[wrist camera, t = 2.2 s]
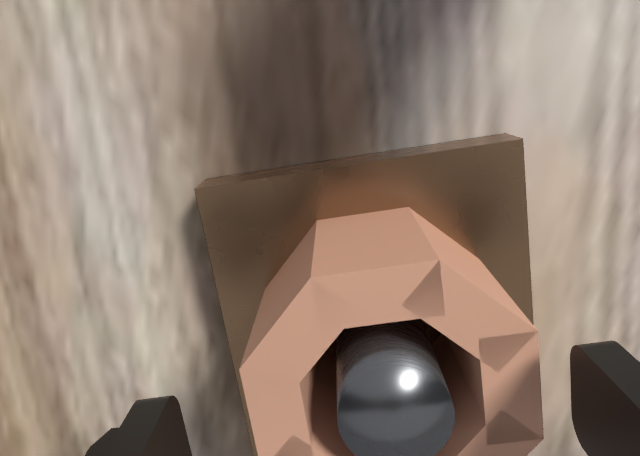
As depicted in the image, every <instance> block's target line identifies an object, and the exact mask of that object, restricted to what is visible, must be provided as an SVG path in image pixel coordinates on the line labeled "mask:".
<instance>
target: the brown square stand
mask: <svg viewBox="0 0 640 456" xmlns="http://www.w3.org/2000/svg"><path fill="white" fill-rule="evenodd" d="M195 194H196V198H197V203H198V207H199V212H200V216H201V221H202V225H203V230H204V234H205V239H206V243H207V248H208V252H209V257H210V261H211V266H212V270H213V275H214V279H215V284H216V288H217V293H218V297H219V302H220V306H221V311H222V315H223V320H224V324H225V329H226V333H227V338H228V342H229V347H230V351H231V356H232V360H233V365H234V369H235V374H236V378H237V383H238V387H239V392H240V396H241V401H242V405H243V410H244V414H245V419H246V423H247V428H248V432H249V437H250V441H251V446H252V450H253V455H254V456H258V453H257V449H256V444H255V440H254V435H253V430H252V426H251V421H250V417H249V412H248V408H247V403H246V399H245V394H244V389H243V385H242V380H241V376H240V371H239V369H240V365H241V362H242V359H243V356H244V353H245V350H246V347H247V344H248V340H249V337H250V334H251V331H252V328H253V325H254V322H255V319H256V316H257V312H258V309H259V306H260V303H261V300H262V297H263V294H264V291H265V288H266V287H267V286H268V284H269V283H270V282H271V280H272V279H273V278H274V276H275V275H276V274H277V272H278V271H279V270H280V268H281V267H282V266H283V264H284V263H285V262H286V260H287V259H288V258H289V257H290V255H291V254H292V253H293V251H294V250H295V249H296V247H297V246H298V245H299V243H300V242H301V241H302V239H303V238H304V237H305V235H306V234H307V233H308V231H309V230H310V229H311V227H312V226H313V225H314V223H315V222H316V221H317V220H322V219H329V218H336V217H343V216H349V215H356V214H363V213H370V212H377V211H384V210H391V209H397V208H404V207H409V208H411V209H412V210H413V211H415V212H416V213H417V214H419V215H420V216H421V217H423V218H424V219H426V220H427V221H428V222H430V223H431V224H432V225H434V226H435V227H436V228H438V229H439V230H440V231H442V232H443V233H445V234H446V235H447V236H449V237H450V238H451V239H453V240H454V241H455V242H457V243H458V244H459V245H461V246H462V247H464V248H465V249H466V250H468V251H469V252H470V253H472V254H473V255H474V256H476V257H477V258H478V259H480V261H481V262H482V263H483V264H484V265H485V267H486V268H487V269H488V270H489V272H490V273H491V274H492V275H493V276H494V278H495V279H496V280H497V281H498V283H499V284H500V285H501V286H502V288H503V289H504V290H505V291H506V292H507V294H508V295H509V296H510V297H511V299H512V300H513V301H514V302H515V304H516V305H517V306H518V307H519V308H520V310H521V311H522V312H523V313H524V315H525V316H526V317H527V318H528V320H529V321H530V322H531V323H532V324H533V308H532V290H531V272H530V255H529V237H528V219H527V201H526V183H525V165H524V148H523V139H522V138H519V137H516V136H513V135H510V134H506V133H504V134H497V135H491V136H484V137H478V138H471V139H464V140H458V141H451V142H445V143H438V144H432V145H425V146H419V147H412V148H406V149H399V150H392V151H386V152H379V153H373V154H366V155H360V156H353V157H347V158H340V159H334V160H327V161H320V162H314V163H307V164H301V165H294V166H288V167H281V168H275V169H268V170H262V171H255V172H248V173H242V174H235V175H229V176H222V177H216V178H209V179H206V180H205V181H203V182H202V183H201V184H200V185H198V186H197V187H196V188H195ZM440 335H441V332H439V331H438V330H436V329H435V328H434V327H432V326H431V325H429V324H428V323H426V322H425V321H424V320H422V319H414V320H406V321H398V322H391V323H383V324H376V325H368V326H361V327H353V328H346V329H343V330H342V332H341V333H340V334H339V335H338V337H337V338H336V339H335V340H334V341H333V343H332V344H331V345H330V346H329V348H328V349H327V350H326V351H325V353H326V354H328V355H329V356H331V357H332V358H334V359H335V360H336V376H337V424H338V429H339V433H340V435H341V438H342V440H343V441H344V443H345V445H346V446H347V447H348V448H349V450H350V451H351V452H353V453H354V454H355V455H356V456H434V455H436V454H437V453H438V452H439V451H440V450H441V449H442V448H443V447H444V446H445V444H446V443H447V441H448V440H449V438H450V436H451V434H452V431H453V428H454V423H455V409H454V404H453V401H452V398H451V396H450V393H449V390H448V388H447V385H446V382H445V380H444V377H443V374H442V372H441V369H440V366H439V364H438V361H437V358H436V355H435V353H434V350H433V347H432V344H433V343H434V341H435V340H436V339H437V338H438V337H439V336H440Z"/></svg>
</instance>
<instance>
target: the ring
mask: <svg viewBox="0 0 640 456" xmlns="http://www.w3.org/2000/svg"><path fill="white" fill-rule="evenodd" d="M414 319H422V320H424V321H425V322H426V323H428V324H429V325H431V326H432V327H434V328H435V329H436V330H438V331H439V332H441V335H440V336H439V337H438V338H437V339H436V340H435V341H434V343H433V344H432V347H433V350H434V353H435V355H436V358H437V361H438V364H439V366H440V369H441V372H442V374H443V377H444V380H445V382H446V385H447V388H448V390H449V393H450V396H451V398H452V401H453V404H454V409H455V423H454V428H453V431H452V434H451V436H450V438H449V440H448V441H447V443H446V444H445V446H444V447H443V448H442V449H441V450H440V451H439V452H438V453H437V454H436V455H434V456H527V455H528V454H529V453H530V452H531V451H532V450H533V449H534V448H535V447H536V446H537V445H538V444H539V443H540V442H541V441H542V440H543V439H544V437H543V418H542V399H541V381H540V362H539V344H538V331H537V329H536V328H535V327H534V326H533V324H532V323H531V322H530V321H529V320H528V318H527V317H526V316H525V315H524V313H523V312H522V311H521V310H520V308H519V307H518V306H517V305H516V304H515V302H514V301H513V300H512V299H511V297H510V296H509V295H508V294H507V292H506V291H505V290H504V289H503V288H502V286H501V285H500V284H499V283H498V281H497V280H496V279H495V278H494V276H493V275H492V274H491V273H490V272H489V270H488V269H487V268H486V267H485V265H484V264H483V263H482V262H481V261H480V259H478V258H477V257H476V256H474V255H473V254H472V253H470V252H469V251H468V250H466V249H465V248H464V247H462V246H461V245H459V244H458V243H457V242H455V241H454V240H453V239H451V238H450V237H449V236H447V235H446V234H445V233H443V232H442V231H440V230H439V229H438V228H436V227H435V226H434V225H432V224H431V223H430V222H428V221H427V220H426V219H424V218H423V217H421V216H420V215H419V214H417V213H416V212H415V211H413V210H412V209H411V208H409V207H404V208H397V209H391V210H384V211H377V212H370V213H363V214H356V215H349V216H343V217H336V218H329V219H322V220H317V221H316V222H315V223H314V225H313V226H312V227H311V229H310V230H309V231H308V233H307V234H306V235H305V237H304V238H303V239H302V241H301V242H300V243H299V245H298V246H297V247H296V249H295V250H294V251H293V253H292V254H291V255H290V257H289V258H288V259H287V260H286V262H285V263H284V264H283V266H282V267H281V268H280V270H279V271H278V272H277V274H276V275H275V276H274V278H273V279H272V280H271V282H270V283H269V284H268V286H267V287H266V288H265V291H264V294H263V297H262V300H261V303H260V306H259V309H258V312H257V316H256V319H255V322H254V325H253V328H252V331H251V334H250V337H249V340H248V344H247V347H246V350H245V353H244V356H243V359H242V362H241V365H240V369H239V371H240V376H241V380H242V385H243V389H244V394H245V399H246V403H247V408H248V412H249V417H250V421H251V426H252V430H253V435H254V440H255V444H256V449H257V453H258V456H356V455H355V454H354V453H353V452H351V451H350V450H349V448H348V447H347V446H346V445H345V443H344V441H343V440H342V438H341V435H340V433H339V429H338V424H337V376H336V360H335V359H334V358H332V357H331V356H329V355H328V354H326V353H325V351H326V350H327V349H328V348H329V346H330V345H331V344H332V343H333V341H334V340H335V339H336V338H337V337H338V335H339V334H340V333H341V332H342V330H343V329H346V328H353V327H361V326H368V325H376V324H383V323H391V322H398V321H406V320H414Z"/></svg>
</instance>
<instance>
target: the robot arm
mask: <svg viewBox="0 0 640 456" xmlns="http://www.w3.org/2000/svg"><path fill="white" fill-rule="evenodd" d="M570 370H571V407H572V420H573V425H574V429H575V432H576V435H577V438H578V440H579V442H580V444H581V446H582V448H583V449H584V451H585V452H586V453H587V455H588V456H640V362H639V361H638V360H636V359H635V358H634V357H633V356H632V355H631V354H630V353H629V352H627V351H626V350H625V349H624V348H623V347H622V346H621V345H620V344H618V343H617V342H615V341H606V342H598V343H590V344H582V345H575V346H573V347H572V349H571V354H570ZM85 456H192V454H191V450H190V446H189V442H188V437H187V433H186V429H185V425H184V421H183V417H182V413H181V409H180V405H179V402H178V400H177V398H176V397H175V396H166V397H158V398H150V399H142V400H137V401H136V402H135V403H134V404H133V406H132V408H131V409H130V411H129V413H128V414H127V416H126V418H125V419H124V421H123V423H122V425H121V426H120V428H112V429H110V430H109V431H108V432H107V433H106V434H104V435H103V436H102V437H101V438H100V439H99V440H98V441H96V442H95V443H94V444H93V445H92V446H91V447H90V448H89V450H88V451H87V453H86V455H85Z"/></svg>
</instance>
